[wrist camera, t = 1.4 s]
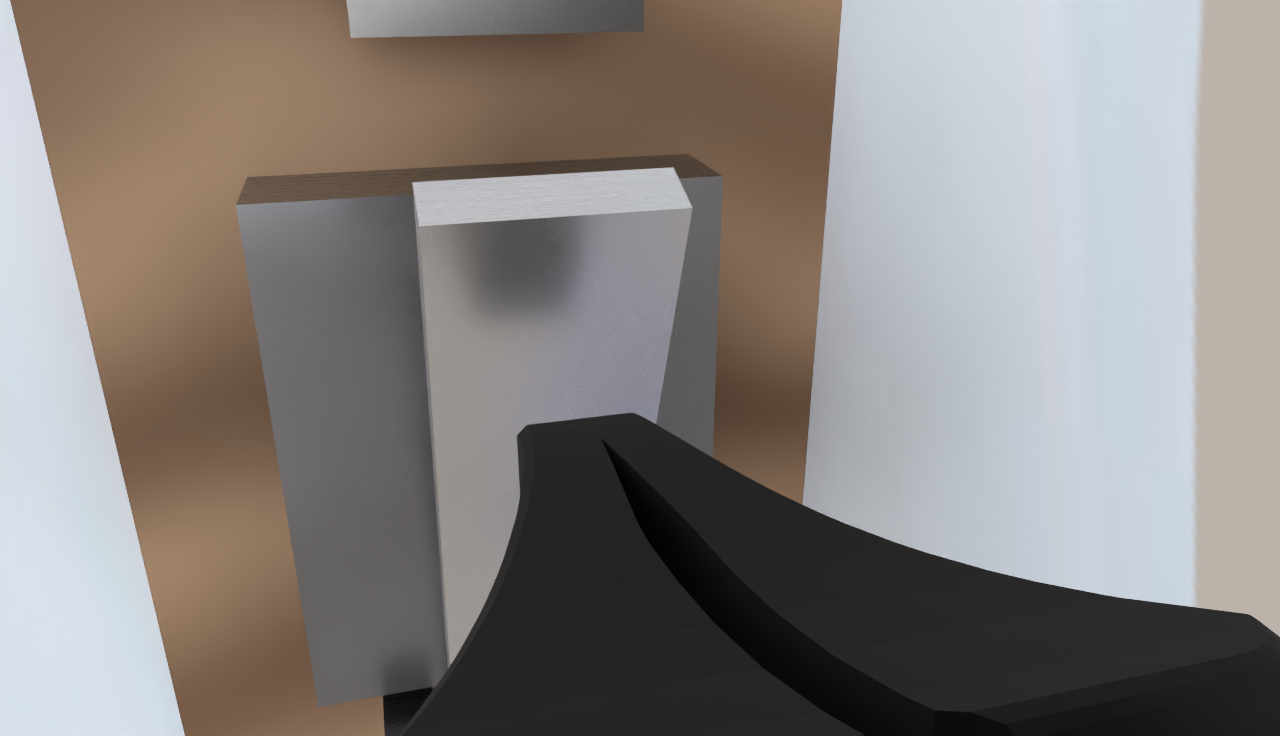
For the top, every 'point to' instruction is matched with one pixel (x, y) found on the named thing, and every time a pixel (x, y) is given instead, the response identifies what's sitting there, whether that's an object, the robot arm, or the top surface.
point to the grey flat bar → (534, 335)
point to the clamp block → (409, 367)
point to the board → (365, 141)
